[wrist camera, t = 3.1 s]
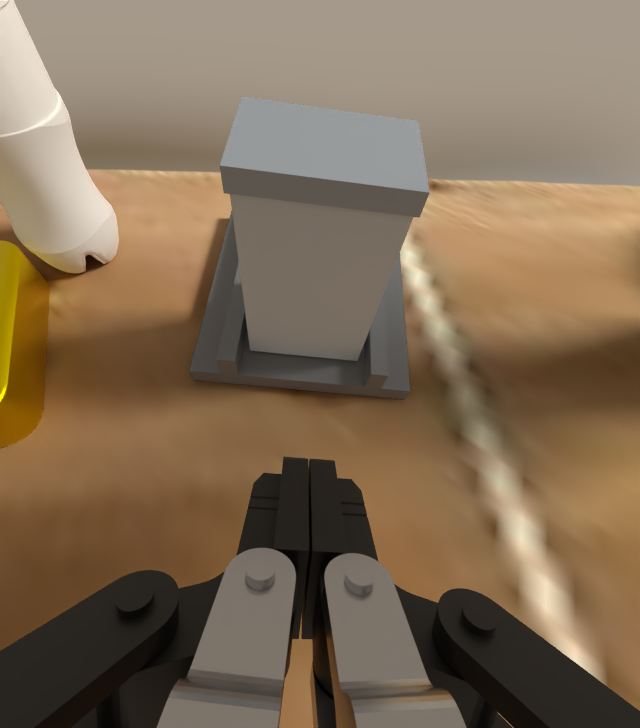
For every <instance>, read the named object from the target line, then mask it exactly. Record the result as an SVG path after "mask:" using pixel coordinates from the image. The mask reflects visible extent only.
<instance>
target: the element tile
mask: <svg viewBox="0 0 640 728" xmlns="http://www.w3.org/2000/svg"><path fill="white" fill-rule="evenodd" d="M49 294H50V290H49V285H48V284H47V282H46V281H45V279H44V278H43V277H42V276H41V274H40V273H39V272H38V271H37V269H36V268H35V267H34V266H33V264H32V263H31V262H30V261H29V260H28V258H27V257H26V256H25V255H24V253H23V252H22V251H21V250H20V249H19V247H18V246H16V245H15V244H13V243H11V242H8V241H2V240H0V448H3V447H6V446H9V445H12V444H15V443H17V442H18V441H20V440H22V439H24V438H25V437H27V436H28V435H29V434H30V433H31V432H32V431H33V430H34V429H35V428H36V427H37V425H38V423H39V421H40V419H41V417H42V413H43V409H44V391H45V372H46V353H47V333H48V314H49Z"/></svg>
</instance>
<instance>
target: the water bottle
mask: <svg viewBox="0 0 640 728" xmlns="http://www.w3.org/2000/svg"><path fill="white" fill-rule="evenodd" d="M0 202H1V204H2V205H3V207H4V209H5V211H6V213H7V216H8V218H9V220H10V223H11V225H12V228H13V231H14V233H15V235H16V236H17V238H18V239H19V240H20V242H21V243H22V244H23V245H24V246H25V247H26V248H27V249H28V250H29V251H31V252H32V253H34V254H35V255H37V256H38V257H39V258H40V259H42V260H43V261H45V262H46V263H48V264H49V265H51V266H53V267H55V268H57V269H59V270H61V271H64V272H67V273H82V272H85V271H86V259H85V256H87V255H91V256H93V257H94V258H95V259H97V260H98V261H100V262H102V263H103V264H105V263H108V262H110V261H111V260H112V259H113V258H114V256H115V255H116V253H117V250H118V244H119V235H118V228H117V219H116V215H115V213H114V211H113V208H112V206H111V205H110V203H109V202H108V201H107V200H106V199H105V198H104V197H103V196H102V195H101V193H100V192H99V191H98V189H97V188H96V186H95V184H94V183H93V181H92V180H91V178H90V176H89V174H88V172H87V170H86V168H85V166H84V164H83V162H82V159H81V157H80V154H79V151H78V149H77V146H76V143H75V139H74V135H73V131H72V126H71V121H70V116H69V113H68V111H67V109H66V107H65V105H64V102H63V100H62V98H61V96H60V94H59V93H58V92H57V91H56V90H55V88H54V86H53V84H52V82H51V80H50V78H49V75H48V73H47V71H46V69H45V67H44V65H43V63H42V61H41V58H40V56H39V54H38V52H37V50H36V48H35V45H34V43H33V41H32V39H31V37H30V35H29V33H28V31H27V28H26V26H25V24H24V22H23V20H22V18H21V16H20V13H19V11H18V9H17V7H16V5H15V3H14V1H13V0H0Z"/></svg>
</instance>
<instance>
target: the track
mask: <svg viewBox="0 0 640 728" xmlns="http://www.w3.org/2000/svg"><path fill="white" fill-rule="evenodd" d="M189 371H190V373H191V376H192V378H193V380H199V381H209V382H220V383H231V384H242V385H253V386H264V387H275V388H285V389H296V390H307V391H318V392H329V393H340V394H350V395H361V396H372V397H383V398H394V399H405V398H406V397H407V395H408V394H409V393H410V378H409V365H408V353H407V340H406V327H405V314H404V302H403V289H402V276H401V264H400V253H399V255H398V258H397V260H396V263H395V265H394V268H393V271H392V273H391V276H390V278H389V281H388V284H387V286H386V289H385V291H384V294H383V296H382V299H381V302H380V304H379V307H378V309H377V312H376V314H375V317H374V320H373V322H372V325H371V327H370V330H369V332H368V335H367V338H366V340H365V343H364V345H363V348H362V350H361V353H360V356H359V358H358V361H351V360H341V359H331V358H321V357H310V356H300V355H290V354H280V353H270V352H259V351H250V346H249V338H248V330H247V322H246V315H245V307H244V299H243V291H242V284H241V276H240V268H239V260H238V252H237V245H236V237H235V229H234V221H233V214H232V211H231V215H230V219H229V223H228V226H227V230H226V234H225V238H224V241H223V245H222V249H221V253H220V256H219V260H218V264H217V268H216V272H215V275H214V279H213V283H212V287H211V290H210V294H209V298H208V302H207V305H206V309H205V313H204V317H203V320H202V324H201V328H200V332H199V335H198V339H197V343H196V347H195V351H194V354H193V358H192V362H191V366H190V369H189Z"/></svg>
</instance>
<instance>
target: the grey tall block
mask: <svg viewBox="0 0 640 728" xmlns="http://www.w3.org/2000/svg"><path fill="white" fill-rule="evenodd" d="M220 170H221V177H222V184H223V190H224V193H227V194H230V198H231V206H232V214H233V221H234V229H235V237H236V245H237V252H238V260H239V268H240V276H241V284H242V291H243V299H244V307H245V315H246V322H247V330H248V338H249V346H250V351H259V352H270V353H280V354H290V355H300V356H310V357H321V358H331V359H341V360H351V361H358V358H359V356H360V353H361V350H362V348H363V345H364V343H365V340H366V338H367V335H368V332H369V330H370V327H371V325H372V322H373V320H374V317H375V314H376V312H377V309H378V307H379V304H380V302H381V299H382V296H383V294H384V291H385V289H386V286H387V284H388V281H389V278H390V276H391V273H392V271H393V268H394V265H395V263H396V260H397V258H398V255H399V253H400V250H401V247H402V245H403V242H404V240H405V237H406V235H407V232H408V229H409V227H410V224H411V222H412V219H413V217H420V215H421V212H422V210H423V207H424V205H425V202H426V200H427V198H428V195H429V193H430V192H429V186H428V179H427V173H426V166H425V160H424V154H423V147H422V140H421V134H420V127H419V122H418V121H413V120H405V119H399V118H391V117H385V116H377V115H370V114H363V113H356V112H349V111H342V110H335V109H328V108H321V107H314V106H307V105H300V104H293V103H285V102H279V101H271V100H265V99H258V98H251V97H242V98H241V101H240V104H239V108H238V110H237V114H236V117H235V120H234V123H233V126H232V129H231V132H230V136H229V139H228V142H227V145H226V148H225V151H224V154H223V157H222V160H221V163H220Z"/></svg>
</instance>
